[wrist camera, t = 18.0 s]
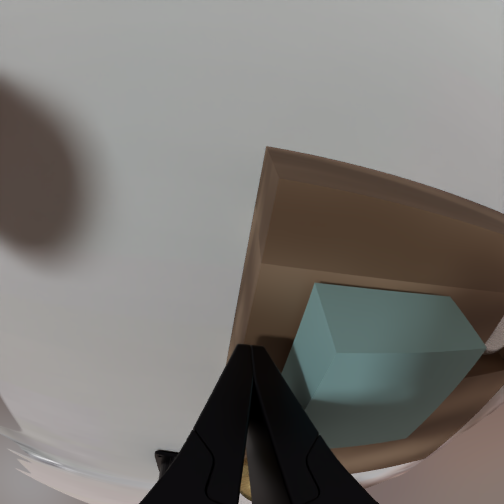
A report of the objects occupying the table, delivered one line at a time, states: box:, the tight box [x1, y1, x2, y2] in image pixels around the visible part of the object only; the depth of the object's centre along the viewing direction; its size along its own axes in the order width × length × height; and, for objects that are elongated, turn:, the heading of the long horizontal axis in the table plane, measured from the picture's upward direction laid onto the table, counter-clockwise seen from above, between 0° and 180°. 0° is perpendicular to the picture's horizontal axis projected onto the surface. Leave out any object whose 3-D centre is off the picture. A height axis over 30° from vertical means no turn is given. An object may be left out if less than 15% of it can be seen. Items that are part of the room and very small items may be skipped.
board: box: [226, 146, 504, 474], centre depth 15 cm, size 20×18×4 cm
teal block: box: [281, 283, 487, 448], centre depth 8 cm, size 5×5×2 cm
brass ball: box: [240, 457, 252, 501], centre depth 13 cm, size 3×3×3 cm
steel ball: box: [483, 316, 504, 355], centre depth 13 cm, size 4×4×4 cm
